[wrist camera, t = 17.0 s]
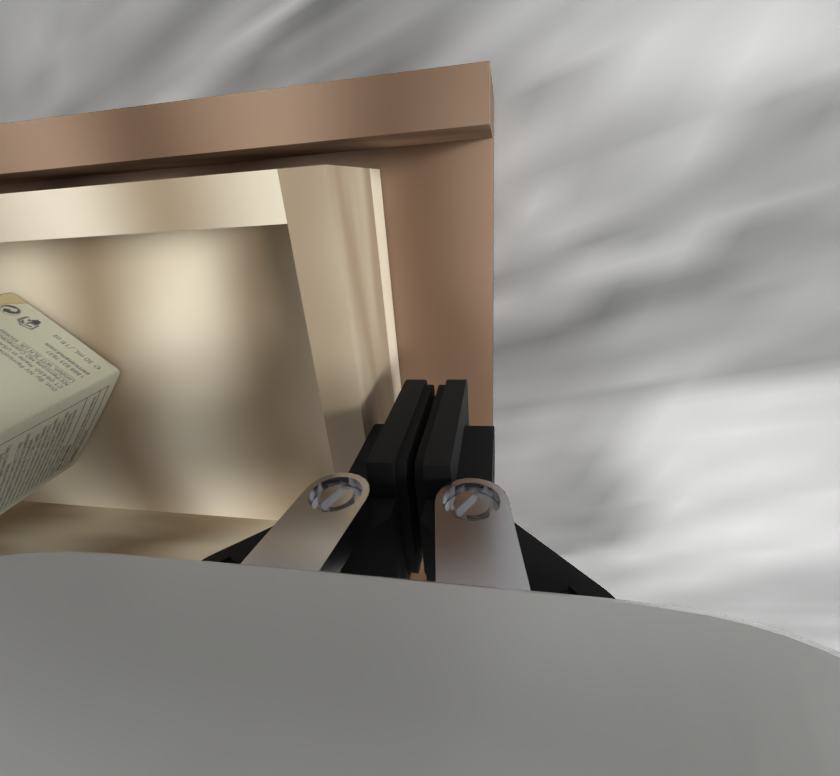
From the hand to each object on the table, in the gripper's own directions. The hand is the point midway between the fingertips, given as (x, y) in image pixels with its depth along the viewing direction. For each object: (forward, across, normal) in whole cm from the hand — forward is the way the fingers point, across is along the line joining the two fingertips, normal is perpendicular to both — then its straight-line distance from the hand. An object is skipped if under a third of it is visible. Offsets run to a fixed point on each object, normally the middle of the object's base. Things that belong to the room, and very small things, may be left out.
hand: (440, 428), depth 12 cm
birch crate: (+3, +12, 0) cm, 12 cm away
